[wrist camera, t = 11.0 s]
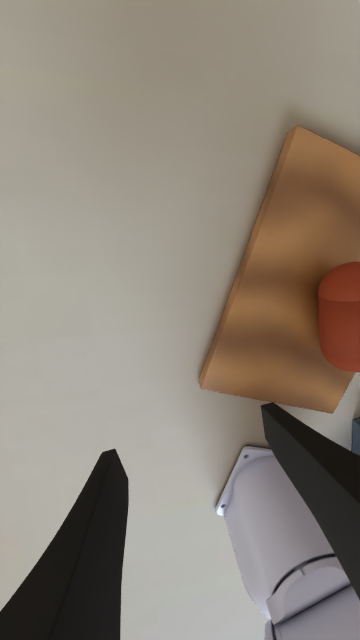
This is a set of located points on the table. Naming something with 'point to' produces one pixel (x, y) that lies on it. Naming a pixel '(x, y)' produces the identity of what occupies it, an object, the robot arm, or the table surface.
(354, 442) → the low basket
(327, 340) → the sweet potato
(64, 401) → the table surface
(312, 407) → the oak board
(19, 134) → the table surface
